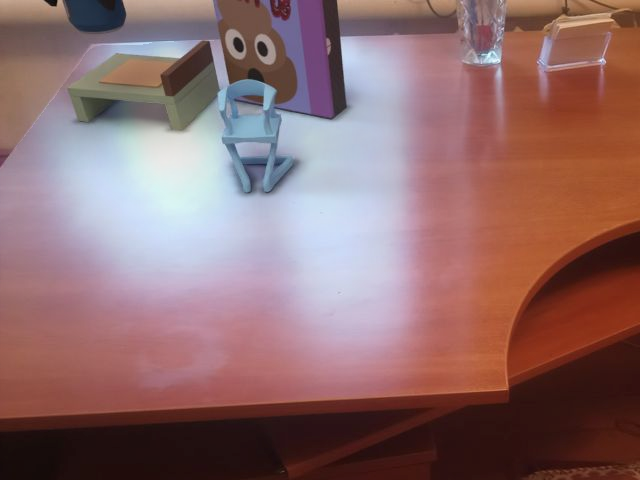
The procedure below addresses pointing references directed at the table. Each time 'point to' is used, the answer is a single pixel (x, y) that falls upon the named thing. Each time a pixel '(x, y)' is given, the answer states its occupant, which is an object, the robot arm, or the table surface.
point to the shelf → (150, 84)
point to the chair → (253, 131)
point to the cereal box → (285, 52)
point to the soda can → (94, 16)
